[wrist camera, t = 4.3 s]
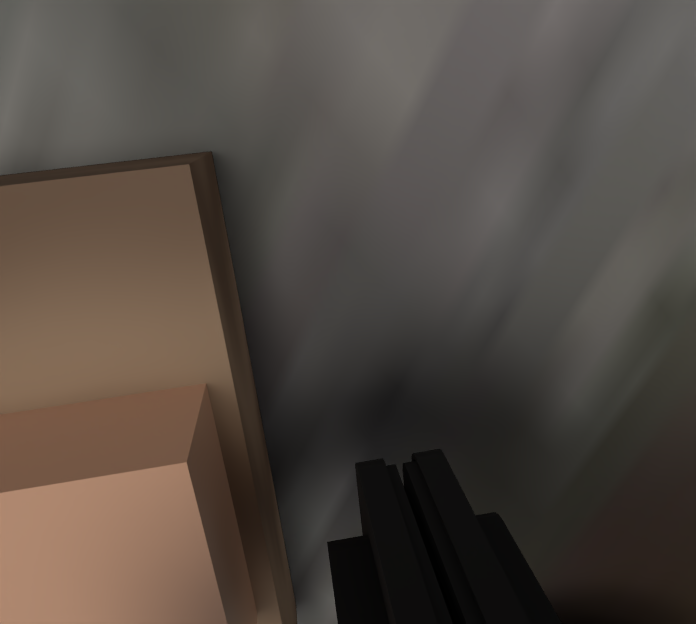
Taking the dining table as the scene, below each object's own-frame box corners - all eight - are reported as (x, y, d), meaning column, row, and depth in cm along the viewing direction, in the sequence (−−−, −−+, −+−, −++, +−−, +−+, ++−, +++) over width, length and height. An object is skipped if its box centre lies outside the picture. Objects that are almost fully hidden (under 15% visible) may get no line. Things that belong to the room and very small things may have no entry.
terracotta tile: (257, 613, 12) (253, 728, 10) (-16, 665, 12) (-86, 800, 9) (205, 383, 10) (186, 462, 8) (-130, 434, 10) (-258, 535, 7)
